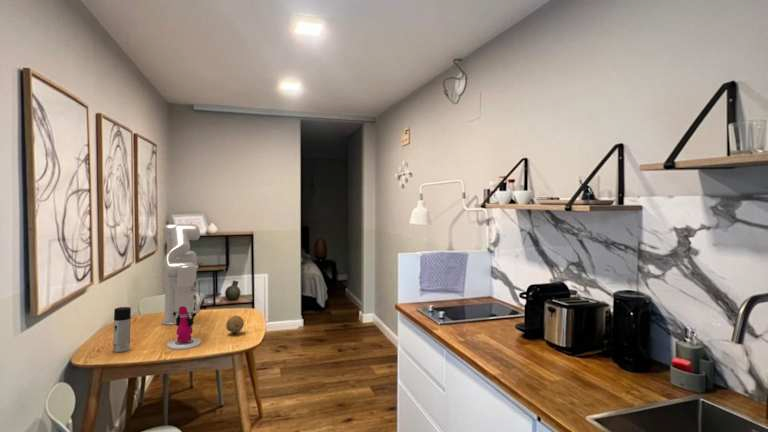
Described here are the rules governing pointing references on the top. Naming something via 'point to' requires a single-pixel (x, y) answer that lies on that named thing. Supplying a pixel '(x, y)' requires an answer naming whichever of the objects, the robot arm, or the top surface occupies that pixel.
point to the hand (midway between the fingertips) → (184, 325)
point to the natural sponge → (235, 324)
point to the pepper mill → (183, 326)
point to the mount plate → (184, 344)
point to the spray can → (121, 329)
